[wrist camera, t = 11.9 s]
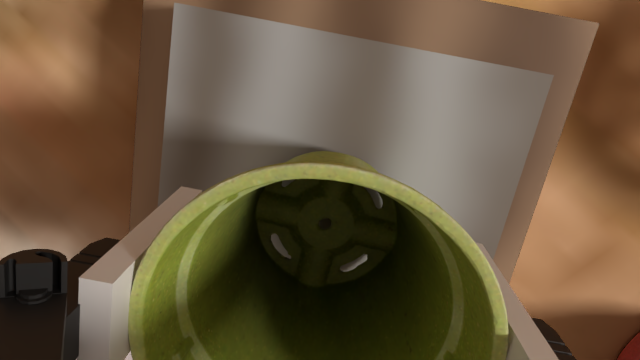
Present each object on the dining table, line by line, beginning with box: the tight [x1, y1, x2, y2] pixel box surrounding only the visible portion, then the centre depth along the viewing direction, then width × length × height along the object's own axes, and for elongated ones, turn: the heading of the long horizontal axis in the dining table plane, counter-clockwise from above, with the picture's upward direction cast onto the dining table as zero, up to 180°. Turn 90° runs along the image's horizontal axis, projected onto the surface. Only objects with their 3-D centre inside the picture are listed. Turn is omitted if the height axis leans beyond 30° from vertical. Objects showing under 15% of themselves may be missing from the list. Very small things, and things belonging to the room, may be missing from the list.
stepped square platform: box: [129, 0, 599, 284], centre depth 23 cm, size 20×20×6 cm
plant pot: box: [128, 151, 509, 360], centre depth 15 cm, size 9×9×9 cm
